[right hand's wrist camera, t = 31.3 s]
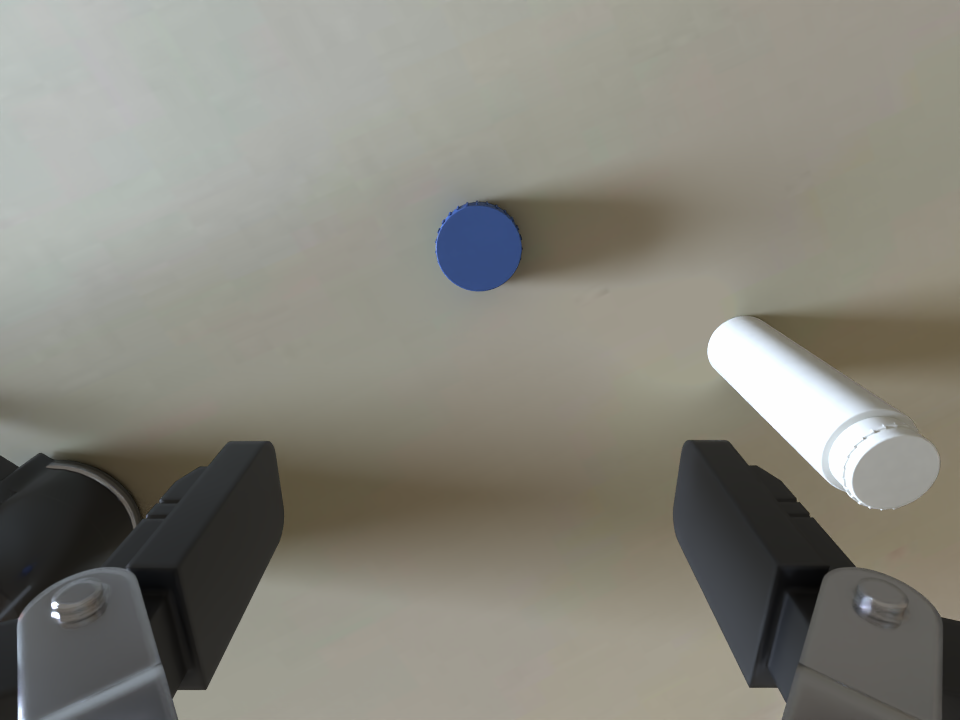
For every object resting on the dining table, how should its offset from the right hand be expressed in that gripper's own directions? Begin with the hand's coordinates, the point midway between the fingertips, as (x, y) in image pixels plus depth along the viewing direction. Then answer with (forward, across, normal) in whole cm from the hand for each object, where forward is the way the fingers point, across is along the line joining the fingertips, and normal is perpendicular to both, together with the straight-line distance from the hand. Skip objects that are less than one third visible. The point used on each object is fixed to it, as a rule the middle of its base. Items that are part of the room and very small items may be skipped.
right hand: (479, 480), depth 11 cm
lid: (+25, 0, 0) cm, 25 cm away
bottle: (+26, +17, -7) cm, 32 cm away
